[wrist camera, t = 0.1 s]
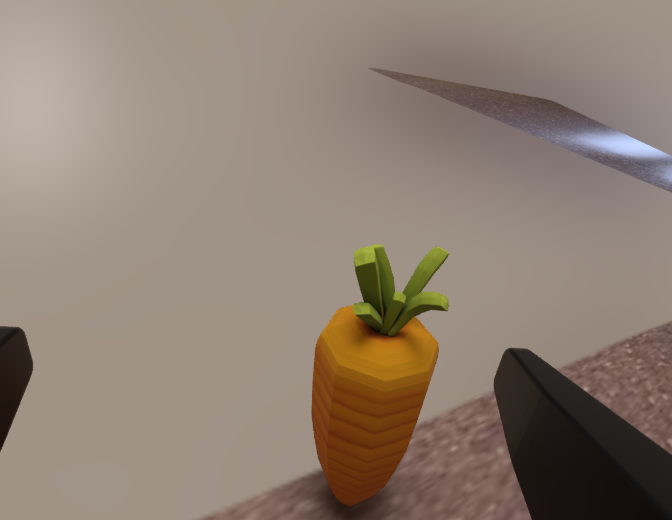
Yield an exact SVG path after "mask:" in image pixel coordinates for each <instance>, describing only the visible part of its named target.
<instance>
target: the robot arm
mask: <svg viewBox="0 0 672 520" xmlns="http://www.w3.org/2000/svg"><path fill="white" fill-rule="evenodd" d="M32 371H33V360H32V357H31V353H30V349H29V346H28V342H27V338H26V335H25V332H24V331H23V330H22V329H21V328H19V327H7V326H0V451H1V449H2V447H3V444H4V442H5V440H6V437H7V435H8V432H9V429H10V427H11V425H12V422H13V420H14V417H15V415H16V412H17V410H18V407H19V405H20V402H21V400H22V397H23V395H24V392H25V390H26V387H27V385H28V382H29V380H30V377H31V374H32ZM494 391H495V396H496V400H497V404H498V408H499V412H500V417H501V421H502V425H503V429H504V433H505V438H506V442H507V446H508V450H509V454H510V458H511V461H512V464H513V467H514V470H515V473H516V476H517V479H518V482H519V485H520V487H521V490H522V493H523V496H524V499H525V501H526V504H527V507H528V510H529V513H530V515H531V518H532V520H672V455H671V454H670V453H669V452H667V451H666V450H665V449H663V448H662V447H660V446H659V445H658V444H656V443H655V442H654V441H652V440H651V439H650V438H648V437H647V436H646V435H644V434H643V433H641V432H640V431H639V430H637V429H636V428H635V427H633V426H632V425H631V424H629V423H628V422H627V421H625V420H624V419H622V418H621V417H620V416H618V415H617V414H616V413H614V412H613V411H612V410H610V409H609V408H608V407H606V406H605V405H603V404H602V403H601V402H599V401H598V400H597V399H595V398H594V397H593V396H591V395H590V394H589V393H587V392H586V391H585V390H583V389H582V388H580V387H579V386H578V385H576V384H575V383H574V382H572V381H571V380H570V379H568V378H567V377H566V376H564V375H563V374H561V373H560V372H559V371H557V370H556V369H555V368H553V367H552V366H551V365H549V364H548V363H546V362H545V361H544V360H542V359H541V358H540V357H538V356H537V355H535V354H534V353H533V352H531V351H530V350H528V349H523V348H508V349H506V350H505V352H504V354H503V356H502V359H501V362H500V364H499V367H498V370H497V373H496V375H495V378H494Z"/></svg>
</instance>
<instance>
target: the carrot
mask: <svg viewBox="0 0 672 520" xmlns="http://www.w3.org/2000/svg"><path fill="white" fill-rule="evenodd" d="M448 255H449V253H447V251H446V250H444V249H443V248H439V247H434V248H433V249H432V250H431V251H430V252H429V253H428V254H427V255H426V256H425V257H424V259H423V260H422V261H421V263H420V264H419V265H418V267H417V269H416V270H415V272H414V274H413V276H412V277H411V279H410V281H409V282H408V284H407V286H406V287H405V289H404V291H403V293H401V292H395V286H394V277H393V274H392V270H391V267H390V263H389V260H388V258H387V255H386V253H385V250H384V248H383V246H382V245H371V246H370V247H363V248H361V249H359V250H357V251H355V252H354V264H355V271H356V275H357V278H358V282H359V286H360V290H361V293H362V296H363V300H364V302H360V303H355V304H354V305H352V306H346V307H343V308H340V309H338V310H337V311H336V313H335V314H334V316H333V317H332V319H331V320H330V321H329V323H328V324H327V326H326V327H325V329H324V330H323V332H322V333H321V335H320V336H319V338H318V340H317V344H316V348H315V359H314V372H313V387H312V388H313V389H312V422H313V430H314V438H315V443H316V449H317V454H318V459H319V461H320V464H321V466H322V469H323V471H324V474H325V476H326V478H327V481H328V483H329V485H330V487H331V490H332V492H333V494H334V496H335V497H336V498H337V499H338V500H339V502H340V503H342V504H345V505H347V506H352V505H355V504H358V503H360V502H362V501H364V500H366V499H368V498H370V497H372V496H373V495H375V494H376V493H377V492H378V491H379V490H381V489H382V488H383V487H384V486H385V485H386V483H387V482H388V480H389V479H390V477H391V476H392V474H393V473H394V471H395V470H396V468H397V466H398V464H399V463H400V461H401V459H402V457H403V456H404V454H405V452H406V450H407V447H408V445H409V442H410V439H411V436H412V434H413V431H414V428H415V425H416V423H417V420H418V417H419V413H420V410H421V408H422V405H423V401H424V398H425V395H426V392H427V389H428V386H429V383H430V380H431V377H432V373H433V371H434V367H435V364H436V361H437V358H438V352H439V348H438V342H437V341H436V340H435V339H434V337H433V336H432V335H431V334H430V333H429V332H428V331H427V329H426V328H425V327H424V326H423V325H422V323H420V321H419V320H418V319H417V318H416V316H417V315H419V314H421V313H423V312H426V311H429V310H440V311H448V307H449V304H448V299H447V297H446V296H444V295H443V294H440V293H435V292H421V291H422V290H423V288H424V287H425V286H426V284H427V283H428V281H429V280H430V279H431V277H432V276H433V274H434V273H435V272H436V271H437V270H438V269H439V267H440V266H441V265H442V264H443V263H444V261H445V260H446V258H447V257H448ZM420 292H421V293H420Z"/></svg>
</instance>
